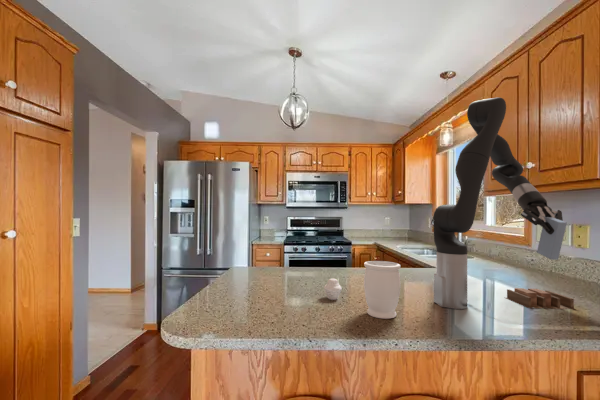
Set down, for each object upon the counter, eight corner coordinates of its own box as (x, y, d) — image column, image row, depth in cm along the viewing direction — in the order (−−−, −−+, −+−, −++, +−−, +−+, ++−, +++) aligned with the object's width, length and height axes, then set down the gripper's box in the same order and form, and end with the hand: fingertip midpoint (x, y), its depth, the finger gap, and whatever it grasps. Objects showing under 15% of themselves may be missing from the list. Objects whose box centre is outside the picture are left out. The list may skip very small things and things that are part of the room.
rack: (527, 310, 94) (527, 298, 94) (504, 300, 105) (504, 289, 105) (575, 312, 94) (575, 299, 94) (546, 301, 105) (546, 290, 105)
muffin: (320, 297, 103) (320, 277, 103) (332, 294, 107) (332, 275, 108) (333, 302, 99) (333, 280, 99) (345, 298, 103) (345, 278, 103)
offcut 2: (541, 305, 97) (541, 293, 97) (527, 300, 102) (527, 288, 103) (551, 305, 96) (551, 293, 97) (536, 300, 102) (536, 288, 103)
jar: (380, 323, 81) (380, 267, 81) (356, 311, 90) (357, 261, 90) (408, 317, 86) (408, 265, 86) (382, 306, 95) (383, 259, 95)
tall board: (550, 259, 99) (559, 222, 96) (536, 252, 105) (544, 217, 102) (558, 259, 99) (567, 222, 96) (544, 252, 105) (552, 217, 102)
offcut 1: (527, 305, 97) (527, 292, 97) (514, 299, 103) (514, 288, 103) (536, 305, 97) (536, 293, 97) (523, 300, 103) (523, 288, 103)
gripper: (514, 189, 109) (542, 224, 96) (553, 190, 108) (585, 225, 96) (505, 204, 114) (529, 239, 101) (541, 205, 113) (570, 240, 101)
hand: (556, 232), depth 98 cm, fingers closed on tall board, 2 cm apart
